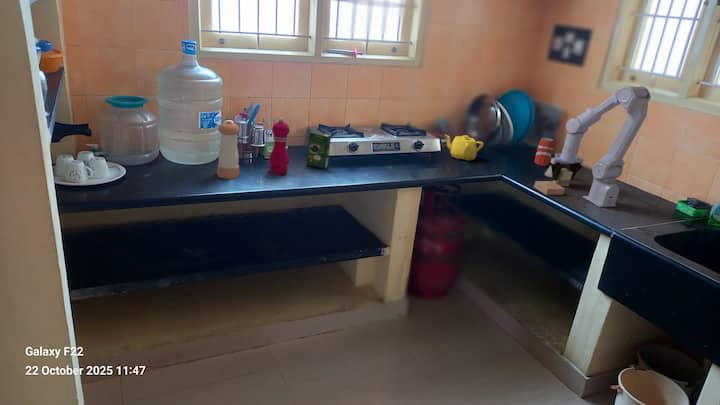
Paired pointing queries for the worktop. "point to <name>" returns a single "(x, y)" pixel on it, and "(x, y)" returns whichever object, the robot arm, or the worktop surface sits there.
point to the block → (564, 177)
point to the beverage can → (544, 151)
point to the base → (549, 188)
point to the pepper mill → (279, 148)
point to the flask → (549, 171)
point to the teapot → (463, 147)
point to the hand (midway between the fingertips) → (561, 180)
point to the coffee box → (318, 149)
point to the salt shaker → (228, 151)
